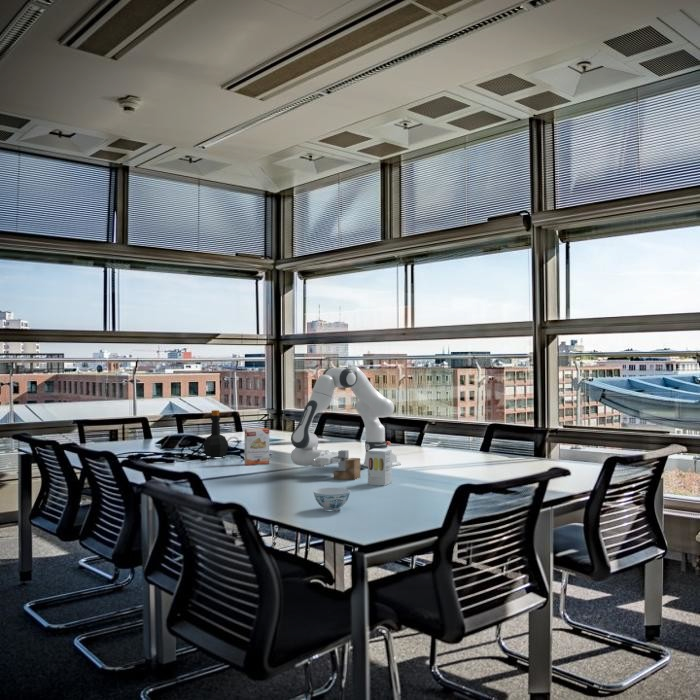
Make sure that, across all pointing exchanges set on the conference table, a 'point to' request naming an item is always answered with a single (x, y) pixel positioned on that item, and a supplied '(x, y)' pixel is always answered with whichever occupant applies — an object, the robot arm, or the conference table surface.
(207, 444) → the bottle
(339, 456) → the grey tall block
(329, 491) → the chinaware
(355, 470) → the brown l-shaped block
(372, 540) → the conference table surface
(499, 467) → the conference table surface
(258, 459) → the cracker box
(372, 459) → the supplement box
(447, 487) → the conference table surface
